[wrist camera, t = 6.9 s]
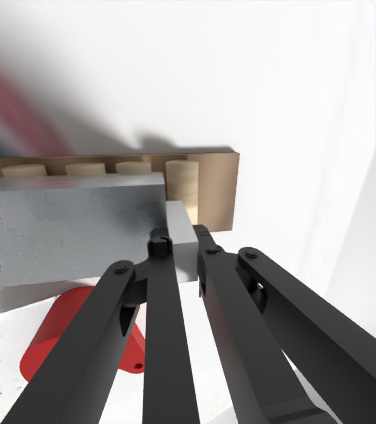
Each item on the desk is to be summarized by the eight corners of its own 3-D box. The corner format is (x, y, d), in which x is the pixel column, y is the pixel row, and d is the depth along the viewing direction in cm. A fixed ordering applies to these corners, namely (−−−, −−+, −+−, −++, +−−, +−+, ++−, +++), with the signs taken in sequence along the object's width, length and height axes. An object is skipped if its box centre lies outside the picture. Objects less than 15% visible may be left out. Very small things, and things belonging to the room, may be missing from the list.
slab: (33, 254, 17) (0, 287, 14) (2, 177, 14) (-48, 194, 11) (166, 242, 19) (169, 268, 15) (162, 171, 16) (164, 184, 13)
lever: (34, 308, 25) (-5, 367, 19) (95, 273, 24) (76, 322, 18) (121, 368, 32) (114, 424, 26) (169, 343, 32) (173, 393, 26)
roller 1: (65, 238, 21) (70, 249, 19) (33, 247, 19) (35, 261, 17) (42, 163, 18) (46, 167, 16) (2, 166, 16) (-1, 171, 14)
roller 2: (96, 257, 18) (80, 246, 19) (124, 242, 20) (107, 234, 22) (75, 169, 14) (59, 165, 16) (111, 164, 17) (93, 161, 18)
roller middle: (140, 252, 18) (121, 242, 20) (162, 239, 20) (144, 231, 22) (129, 168, 15) (108, 164, 17) (157, 163, 17) (136, 160, 19)
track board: (-27, 247, 20) (-111, 302, 14) (-74, 159, 16) (-218, 178, 10) (229, 226, 24) (255, 261, 18) (235, 152, 21) (272, 162, 14)
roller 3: (189, 248, 19) (164, 241, 20) (201, 234, 21) (177, 228, 23) (189, 166, 16) (159, 163, 17) (203, 161, 18) (175, 159, 19)
